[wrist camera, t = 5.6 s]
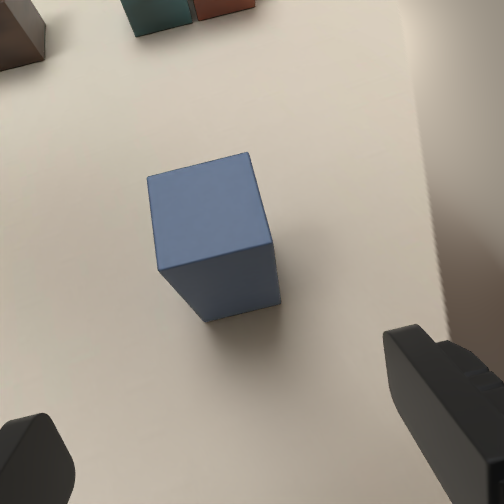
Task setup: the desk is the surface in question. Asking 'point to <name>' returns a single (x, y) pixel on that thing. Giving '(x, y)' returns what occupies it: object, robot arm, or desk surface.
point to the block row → (136, 8)
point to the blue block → (214, 237)
